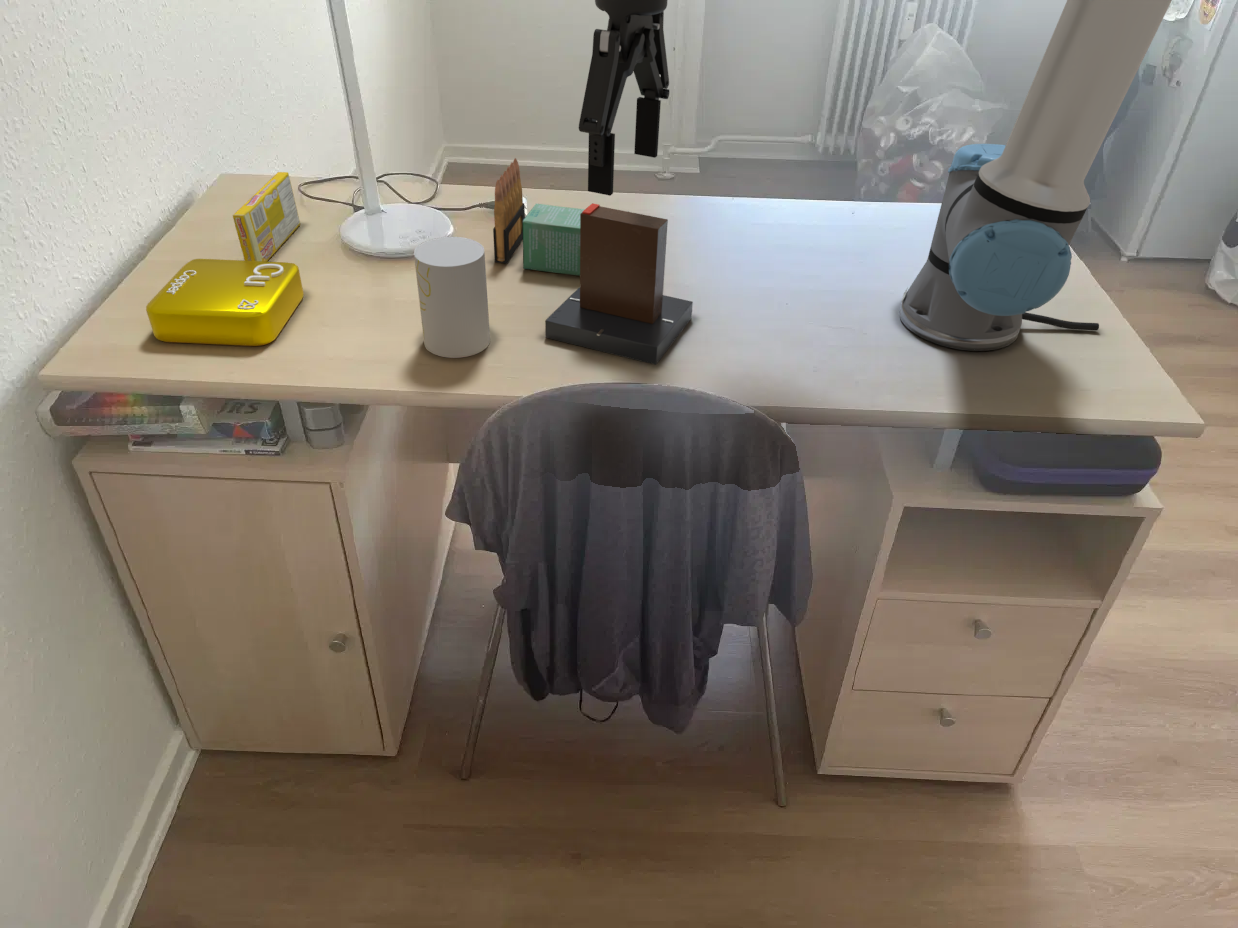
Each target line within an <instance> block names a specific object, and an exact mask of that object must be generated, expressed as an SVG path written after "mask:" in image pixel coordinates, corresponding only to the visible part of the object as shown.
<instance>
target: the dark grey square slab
mask: <svg viewBox="0 0 1238 928" xmlns="http://www.w3.org/2000/svg"><path fill="white" fill-rule="evenodd" d="M693 305H694V303H693V301H691V300H687V299H684V298H683V299H682V298H677V297H674V296H669V295H665V294H663V300H662V313H661V314H660V316H659V317H658V318H657V319H656V321H655V322H654V323H653V324H650V323H646V322H641V321H637V320H633V319H628V318H624V317H620V316H616V315H611V314H607V313H603V312H598V311H594V310H590V309H585V308H581V307H580V286H579V287H578V288H577V289H576V290H574V291H573V293H572V294H571V295H569V297H567V299H566V300H565V301H563V302H562V304H561V305H559V306H558V307H557V308H556V309H555V310H554V311H553V312H552V313H551V314H550V315H549V316H548V317H547V318H546V319H545V321H544V322H545V323H544V326H545V332H544V333H545V339H549V340H552V341H553V340H554V341H558V342H562V343H566V344H570V345H575V346H578V347H582V348H586V349H590V350H595V351H599V352H603V353H607V354H610V355H614V356H619V357H623V358H627V359H632V360H635V361H640V362H643V363H648V364H651V365H655V366H656V365H657V364H658V363H659V362H660V360H661V359H662V358H663V356H664V355H665V354H666V352H667V351H668V350H669V348H670V347H671V346H672V344H673V343H674V342H675V341H676V339H677V338H678V337H679V335H680V334H681V333H682V331H683V330H684V329H685V327H686V326H687V325H688V323H689V322H690V321H691V320H692V315H693Z"/></svg>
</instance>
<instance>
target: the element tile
mask: <svg viewBox="0 0 1238 928" xmlns="http://www.w3.org/2000/svg"><path fill="white" fill-rule="evenodd" d="M304 295H305V294H304V288H303V283H302V278H301V272H300V269H299V266H298V265H297V264H296V263H293V262H287V261H286V262H285V261H284V262H282V261H267V262H264V261H245V260H242V259H241V260H238V259H220V258H219V259H216V258H194V259H191V260H190V261H188V262H187V263H185V264H184V265H183V266H182V267H181V268H180V269H179V270H178V271H177V272H176V273H175V274H174V275H173V277H171V279H169V280H168V282H167V283H166V284H165V285H164V286H162V288H161V289H160V290H159V291H158V293H156V294H155V296H153V298H151V300H149V302H148V303H147V304H146V306H145V310H146V314H147V317H148V321H149V325H150V327H151V331H152V333H153V336H154V338H155V339H156V340H157V341H161V342H165V343H179V344H181V343H182V344H198V345H199V344H200V345H201V344H202V345H224V346H245V347H259V346H265V345H268V344H270V343H272V342H274V341H275V340H276V339H277V337H278V336H279V334H280V333H281V331H282V330H283V328H284V327H285V325H286V324H287V322H288V321H289V319H290V318H291V316H292V315H293V313H294V312H295V310H296V309H297V307H298V305H299V304H300V303H301V301H302V300H303V298H304Z"/></svg>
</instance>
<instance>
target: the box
mask: <svg viewBox="0 0 1238 928" xmlns="http://www.w3.org/2000/svg"><path fill="white" fill-rule="evenodd" d="M585 209H586V208H576V207H567V206H559V205H551V204H544V203H535V204H534V205H533V206H532V208H531V209H530V211H529V212H528V213H527V215H525V218H524V220H523V240H522V267H523V269H524V270H530V271H531V270H533V271H539V272H546V273H547V272H548V273H555V274H563V275H572V276H578V277H580V214H581V213H582V211H584V210H585Z"/></svg>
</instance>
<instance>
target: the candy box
mask: <svg viewBox="0 0 1238 928" xmlns="http://www.w3.org/2000/svg"><path fill="white" fill-rule="evenodd" d="M292 186H293V185H292V183H291V177H290V175H289V172H288V171H278V172H277V173H275V174H274V175H273V176H272V177H271V178H270V179H269V180H268V181H267V182H266V183H265V184H264V185H263V186H262V187H261V188H260V189H258V191H256V193H254V194H253V195H252V197H250V198H249V199H248V200H247V201H246V202H245V203H244V204H243V205H242V206H241V207H240V208H239V209H238V210H237V211H235V213H233V214H232V218H233V219H232V220H233V222H234V226H235V230H236V234H237V237H238V240H239V241H238V242H239V245H240V248H241V252H242V256H243V259H244V260H243V261H264V262H269V260H270V259H271V258H272V257H273V255H274V254H275V253H276V252H277V251H278V250H279V249H280V248H281V247H282V245H283V244H284V243H285V242H286V241H287V240H288V239H289V238H290V236H292V234H293V233H294V232H295V231H296V230H297V229H298V228H299V226H301V220H300V216H299V212H298V208H297V203H296V199H295V196H294V190H293V187H292Z"/></svg>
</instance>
